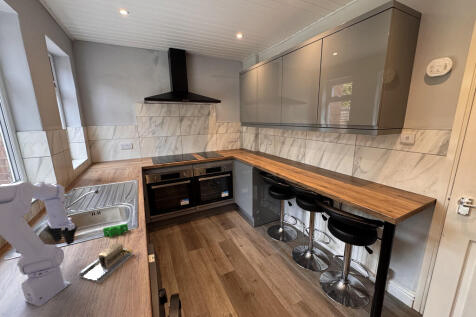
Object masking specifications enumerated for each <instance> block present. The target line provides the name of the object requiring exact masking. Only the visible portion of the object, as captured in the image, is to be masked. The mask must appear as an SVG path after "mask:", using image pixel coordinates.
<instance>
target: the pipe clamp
mask: <svg viewBox="0 0 476 317" xmlns="http://www.w3.org/2000/svg"><path fill="white" fill-rule="evenodd" d="M128 225H129V224H128V223H124V224H118V225H112V226H107V227H103V228H102V232H103V235H104V237H109V238H110V239H111V238H112V237H113V235H114V236H116V235H115V234H119V235H118V236H120V235H121V236H122V234H121V233H122V232H123V233H126V232H125V231H128V232H129V226H128ZM107 235H109V236H107ZM121 236H120V237H121Z"/></svg>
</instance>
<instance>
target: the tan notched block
mask: <svg viewBox="0 0 476 317" xmlns="http://www.w3.org/2000/svg"><path fill="white" fill-rule="evenodd" d="M123 248H124V246H123V243H119V242H114V243H112V244H111V245H110V246H109V247H107V248H105V249H104V250H103V251H101V252H100V253H99V254H98V255H97V256H98V259H99V261H100V265H103V264H104V263H106V267H108V266H109V265H111V264H112V263H113V262H114V261H116V260H117V259H118V258H119V257H121V256H122V255H123V254H124V250H123Z"/></svg>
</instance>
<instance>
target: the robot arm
mask: <svg viewBox="0 0 476 317" xmlns="http://www.w3.org/2000/svg"><path fill="white" fill-rule="evenodd" d="M65 193H66V191H65V187H64V186H63V185H61V184H51V183H45V181H39V182H37V183H35V184H33V183H32V182H31V181H21V182H15V183H8V184H6V183H5V184H0V236H1V237H2V238H3V239H4V240H5V241H6V242H8V244H9V245H11V246H12V247H13V248H14V249H15V250H16V251H17V253H19V254H20V256H19V257H18V261H17V263H16V266H17V267H18V268H19V272H20V273H21V274H22V275H23V276H27V279H25V280H24V281H23V282H22V283H21V285H20V286H21V289H22V293H23V295H24V302H26V303H29V304H31V305H34V306H36V307H41V306H43V305H44V304H46V303H47V302H48V301H49V300H51V299H53V298H54V297H55V296H56V295H57V294H59V293H61V291H63V290H64V289H66V288H67V287H68V286H70V285H71V282H70V281H68V280H64V277H63V276H64V275H63V274H62V269H61V265H62V263H64V262H63V261H64V260H65V252H64V249H62V247H59V246H57V245H55V244H46V243H44V241H43V240H42V239H41V238H40V237H39V236H38V234H37V233H36V232H35V231H34V229H33V228H32V227H31V226H30V225H29V223H28V222H27V221H26V219H24V217H23V216H25V215H27V214H29V213H30V209H31V208H32V207H31V206H32V201H33V200H40V202H44V206H45V210H46V214H47V217H48V218H47V219H48V220H46V221H45V225H46V226H48V227H45V228H44V231H46V232H47V233H48V234H49V235H50V236H51V238H52V240H53V241H54V242H55V243H57V242H59V241H61V240H62V239H64V241H65V244H66V245H68V246H70V245H72V244H73V243H75V234H76V231H77V229H78V225H75V223H74V222H72V219H73V218H72V217H69V216H68V212H67V208H66V204H65V203H66V202H65V201H66V196H65V195H66V194H65ZM62 229H63V230H62Z"/></svg>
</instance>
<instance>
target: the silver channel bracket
mask: <svg viewBox="0 0 476 317" xmlns="http://www.w3.org/2000/svg"><path fill="white" fill-rule="evenodd" d="M123 250H124V254H123V255H122V256H121V257H119V258H118V259H117V260H116V261H114V262H113V263H112V264H111V265H109V266H108V267H106V263H104V264H103V265H100V261H99V258H97V259H96V260H94V261H93V262H91V263H90V264H89V265H87V266H86V267H85V268H83V269H82V270H80V271H79V272H78V273H77V274H78V278H80V279H84V280H86V281H87V280H88V281H89V282H90V281H91V282H94V283H97V284H101V283H102V282H103V281H104V280H106V278H107V277H110V276H111V274H113V273H114V272H115V271H116V270H117V269H118V268H120V267H121V266H122V265H123V264H124V263H125V262H126V261H128V260H129V259H130V258H131V257H132V256H134V252H133V249H131V248H127V247H126V248H125V247H123Z"/></svg>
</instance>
